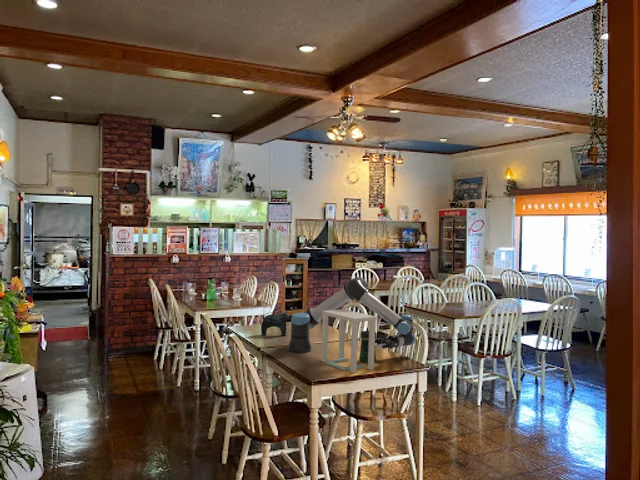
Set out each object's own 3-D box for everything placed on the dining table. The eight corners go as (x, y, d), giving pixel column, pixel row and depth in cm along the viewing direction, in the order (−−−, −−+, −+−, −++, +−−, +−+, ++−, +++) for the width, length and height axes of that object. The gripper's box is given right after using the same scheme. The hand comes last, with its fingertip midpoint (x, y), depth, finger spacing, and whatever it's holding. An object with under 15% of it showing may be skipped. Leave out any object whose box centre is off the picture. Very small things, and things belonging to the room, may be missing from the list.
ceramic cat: (288, 335, 378) (289, 307, 377) (287, 336, 371) (288, 309, 371) (261, 334, 377) (262, 307, 377) (260, 336, 371) (261, 308, 370)
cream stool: (351, 373, 281) (353, 319, 280) (319, 361, 305) (320, 310, 304) (374, 369, 291) (376, 316, 290) (341, 357, 315) (343, 309, 315)
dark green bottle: (363, 363, 302) (364, 332, 302) (357, 360, 310) (358, 329, 309) (377, 362, 306) (379, 331, 306) (371, 359, 313) (372, 329, 313)
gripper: (409, 351, 310) (384, 355, 298) (381, 343, 330) (356, 346, 318) (410, 339, 310) (384, 342, 298) (381, 331, 330) (356, 334, 318)
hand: (369, 344), depth 308 cm, fingers open, 13 cm apart
